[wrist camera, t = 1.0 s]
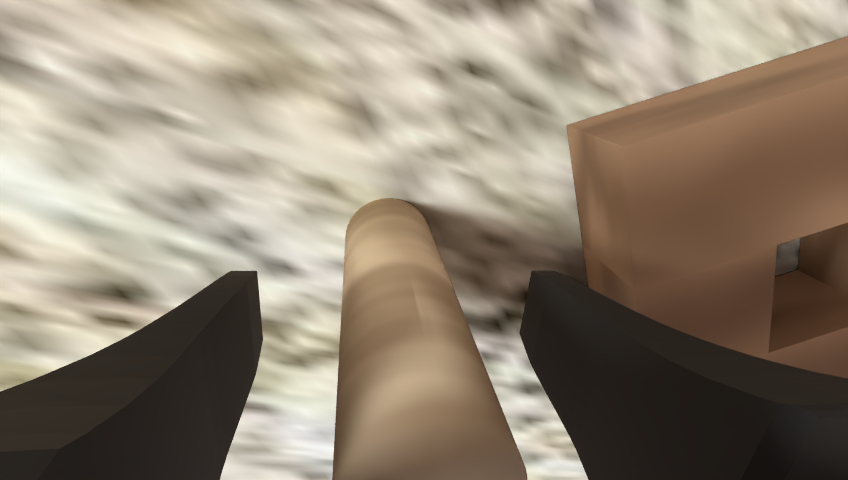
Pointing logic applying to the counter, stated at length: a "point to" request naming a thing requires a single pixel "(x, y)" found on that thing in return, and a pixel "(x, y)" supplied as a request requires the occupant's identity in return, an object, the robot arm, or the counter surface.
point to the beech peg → (411, 363)
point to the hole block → (727, 207)
